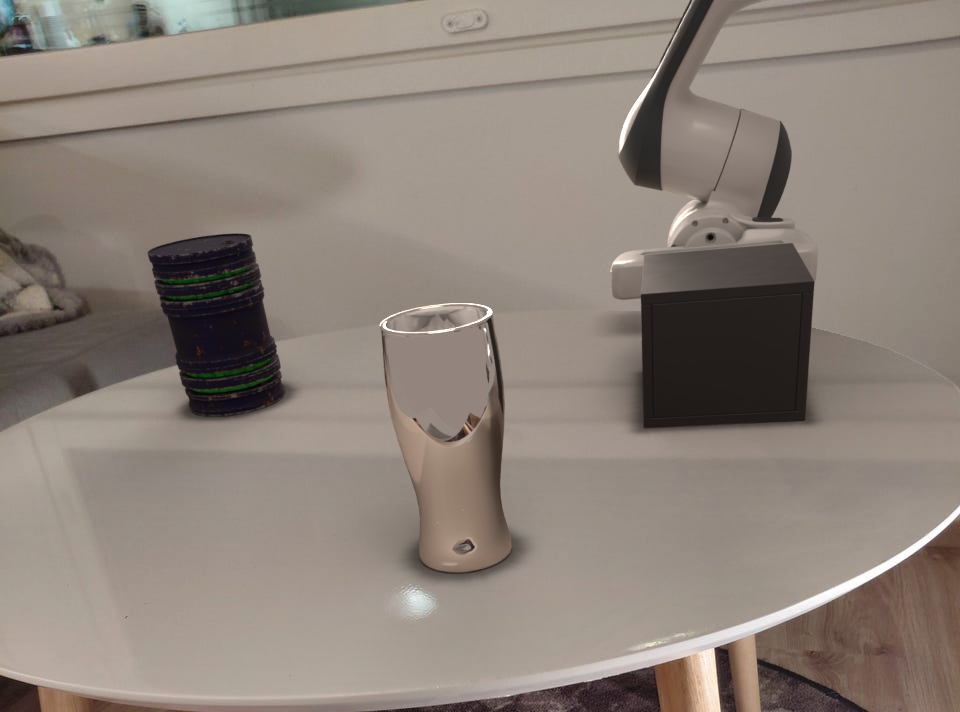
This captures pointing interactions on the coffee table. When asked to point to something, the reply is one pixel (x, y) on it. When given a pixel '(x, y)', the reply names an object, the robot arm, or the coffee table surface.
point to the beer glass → (450, 429)
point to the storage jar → (218, 323)
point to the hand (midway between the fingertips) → (714, 286)
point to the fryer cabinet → (725, 336)
